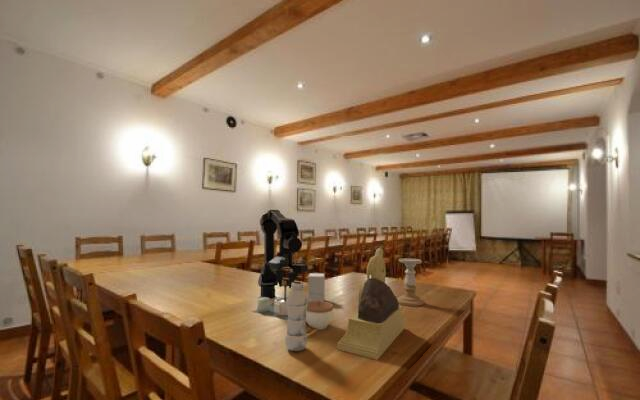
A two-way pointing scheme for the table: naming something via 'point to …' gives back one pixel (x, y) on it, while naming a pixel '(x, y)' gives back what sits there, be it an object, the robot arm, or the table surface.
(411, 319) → the table surface
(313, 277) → the supplement box
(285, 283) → the coffee tamper
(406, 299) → the candle holder
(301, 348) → the plastic bottle
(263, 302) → the sage green dome
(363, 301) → the statue with dark rock
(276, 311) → the octagonal white frame
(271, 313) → the slate tray
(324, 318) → the lidded jar
